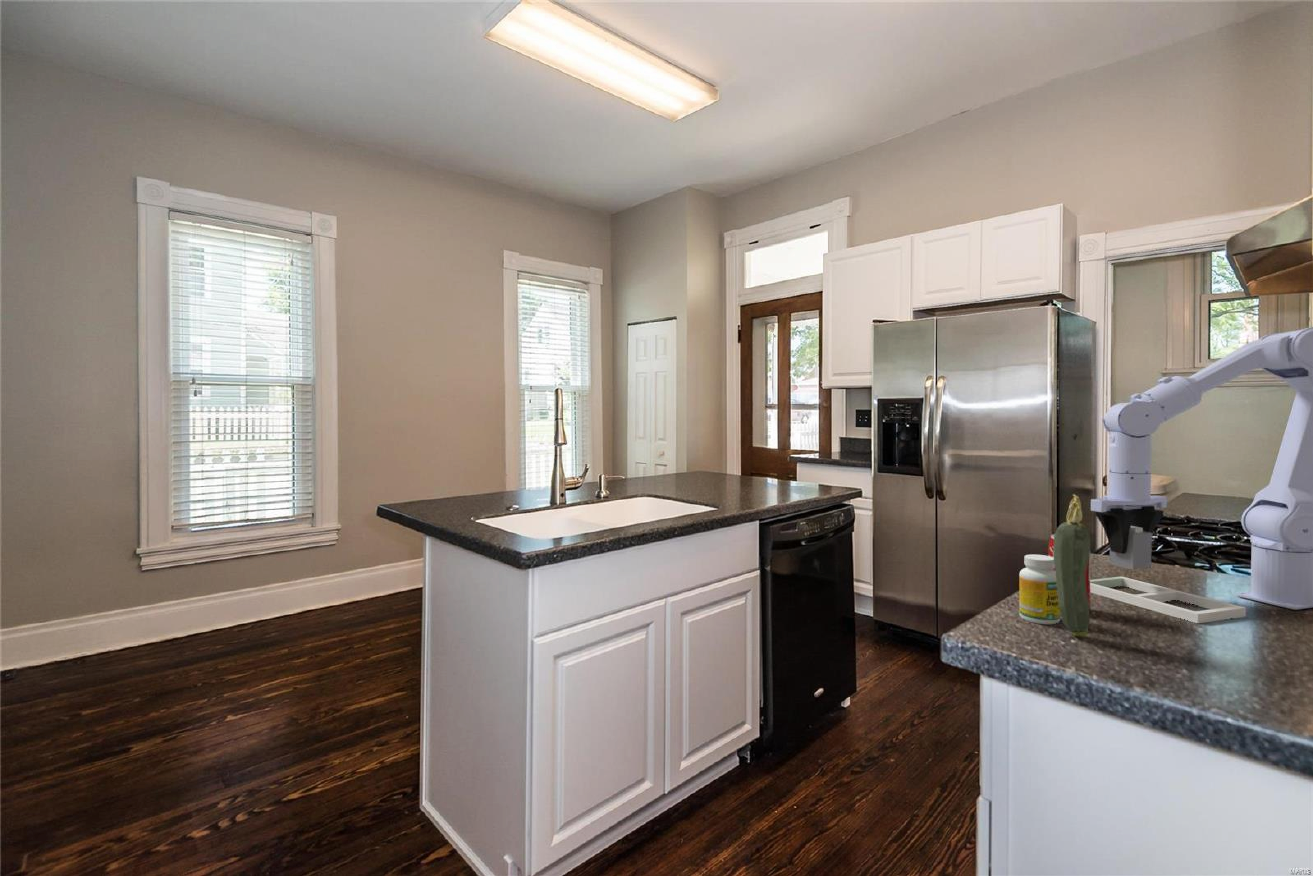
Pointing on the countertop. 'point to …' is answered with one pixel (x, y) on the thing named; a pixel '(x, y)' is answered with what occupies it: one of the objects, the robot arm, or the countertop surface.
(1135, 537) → the plug
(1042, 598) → the supplement bottle
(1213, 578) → the countertop surface
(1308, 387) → the robot arm
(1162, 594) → the frame
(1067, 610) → the vegetable
